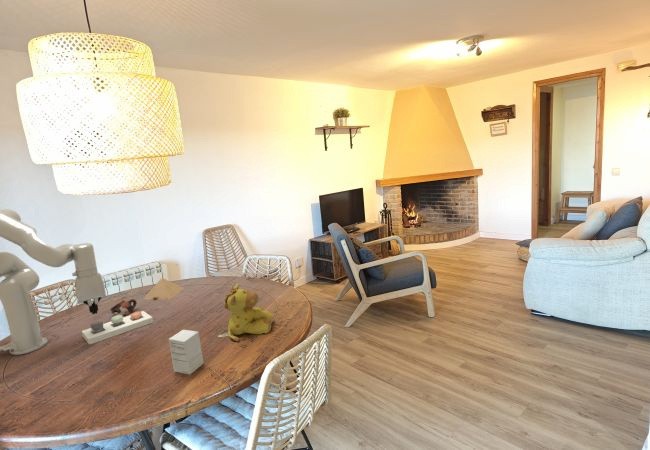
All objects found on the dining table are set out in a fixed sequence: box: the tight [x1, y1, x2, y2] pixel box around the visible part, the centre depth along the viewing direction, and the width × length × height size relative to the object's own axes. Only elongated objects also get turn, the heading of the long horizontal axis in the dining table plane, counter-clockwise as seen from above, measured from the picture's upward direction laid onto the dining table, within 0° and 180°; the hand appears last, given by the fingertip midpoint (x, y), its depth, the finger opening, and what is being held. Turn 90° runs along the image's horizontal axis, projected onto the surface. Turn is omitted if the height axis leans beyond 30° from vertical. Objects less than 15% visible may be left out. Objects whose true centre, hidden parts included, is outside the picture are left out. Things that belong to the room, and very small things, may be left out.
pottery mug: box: [110, 298, 137, 317], centre depth 185 cm, size 12×10×8 cm
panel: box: [81, 310, 154, 346], centre depth 168 cm, size 26×12×2 cm, turn 134°
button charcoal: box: [89, 320, 104, 333], centre depth 162 cm, size 5×5×4 cm
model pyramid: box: [143, 277, 186, 301], centre depth 209 cm, size 17×17×10 cm
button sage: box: [110, 314, 124, 327], centre depth 167 cm, size 5×5×4 cm
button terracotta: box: [131, 311, 142, 321], centre depth 173 cm, size 5×5×4 cm
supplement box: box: [168, 329, 204, 376], centre depth 130 cm, size 7×7×13 cm
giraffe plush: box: [217, 283, 274, 342], centre depth 156 cm, size 20×24×19 cm
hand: (94, 313), depth 161 cm, fingers closed
